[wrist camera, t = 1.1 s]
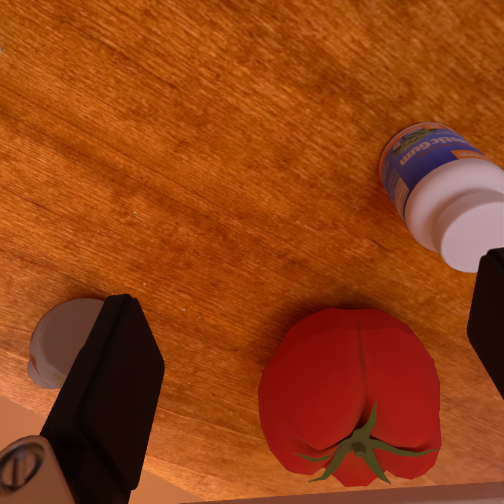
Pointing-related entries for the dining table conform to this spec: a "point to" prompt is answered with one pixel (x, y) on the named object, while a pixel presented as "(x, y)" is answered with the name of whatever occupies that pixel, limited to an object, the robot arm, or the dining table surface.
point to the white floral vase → (60, 340)
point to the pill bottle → (445, 193)
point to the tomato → (351, 398)
